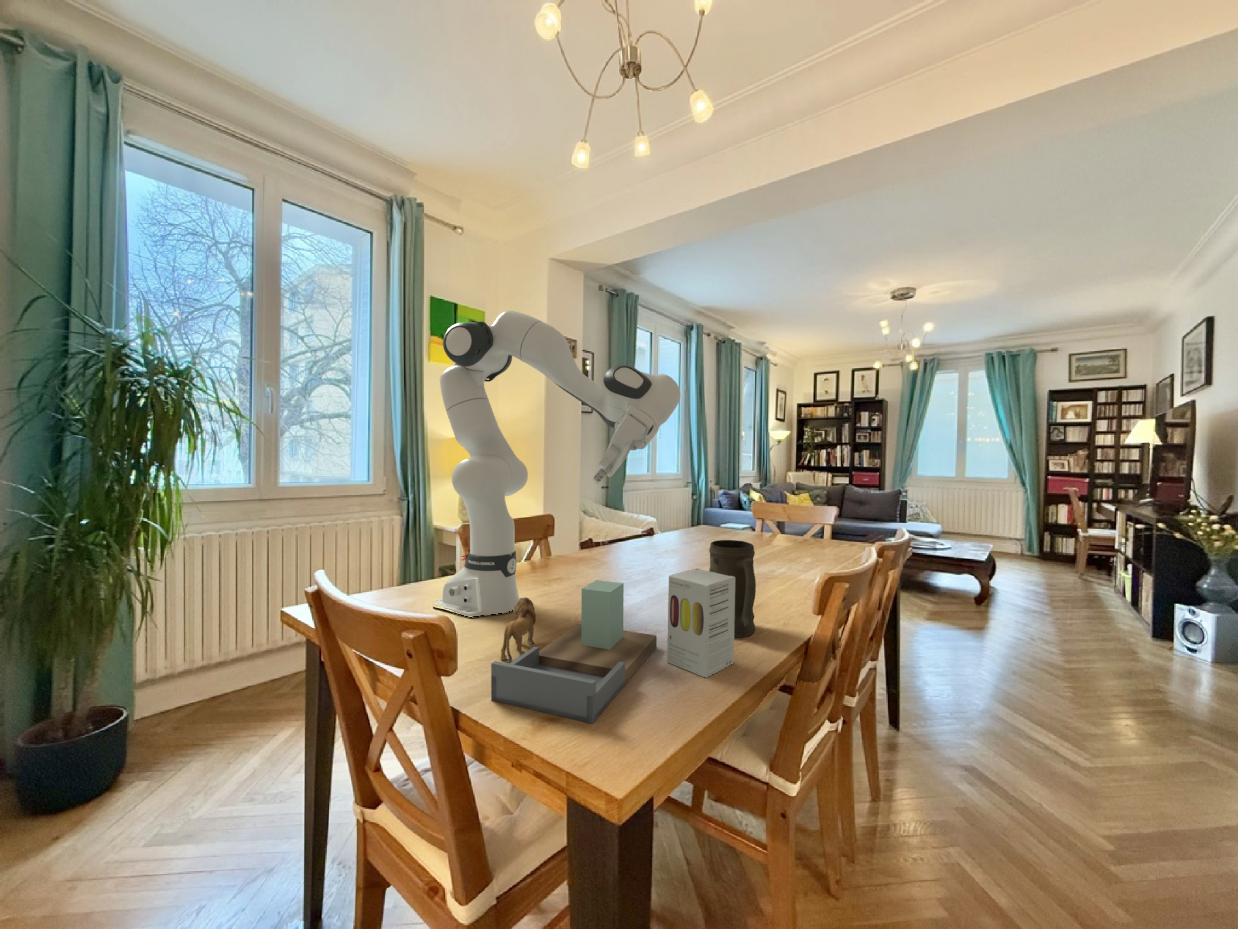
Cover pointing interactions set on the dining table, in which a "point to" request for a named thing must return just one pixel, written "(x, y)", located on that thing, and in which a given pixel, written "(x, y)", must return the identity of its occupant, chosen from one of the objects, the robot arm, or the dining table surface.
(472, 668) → the dining table surface
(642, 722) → the dining table surface
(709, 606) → the supplement box
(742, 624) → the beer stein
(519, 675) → the box
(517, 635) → the lion figurine
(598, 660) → the brown wooden board
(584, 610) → the sage block
